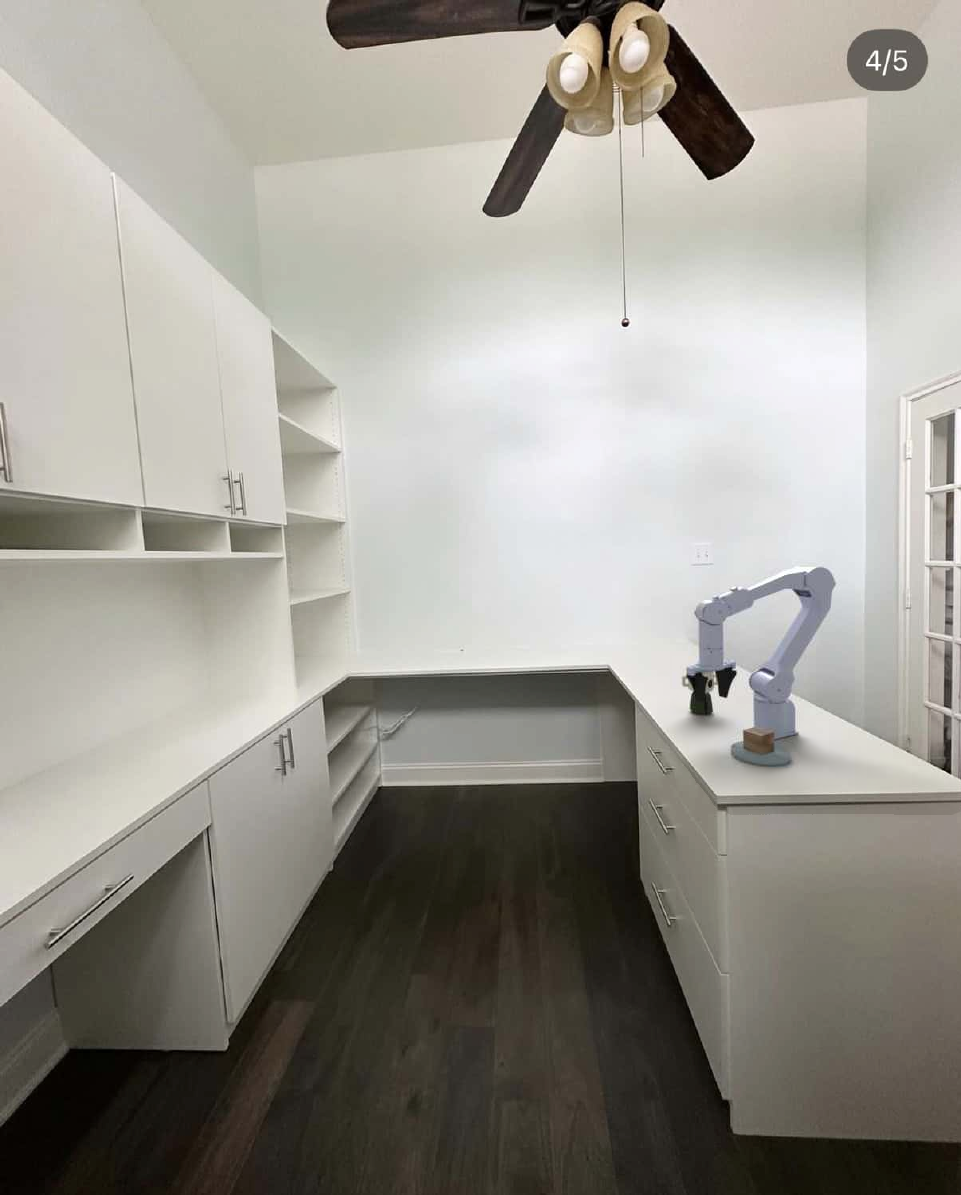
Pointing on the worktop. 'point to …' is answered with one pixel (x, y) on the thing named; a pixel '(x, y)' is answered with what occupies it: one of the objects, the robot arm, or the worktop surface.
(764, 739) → the walnut block
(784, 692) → the robot arm
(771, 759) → the slate dish
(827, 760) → the worktop surface
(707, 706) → the character mug
